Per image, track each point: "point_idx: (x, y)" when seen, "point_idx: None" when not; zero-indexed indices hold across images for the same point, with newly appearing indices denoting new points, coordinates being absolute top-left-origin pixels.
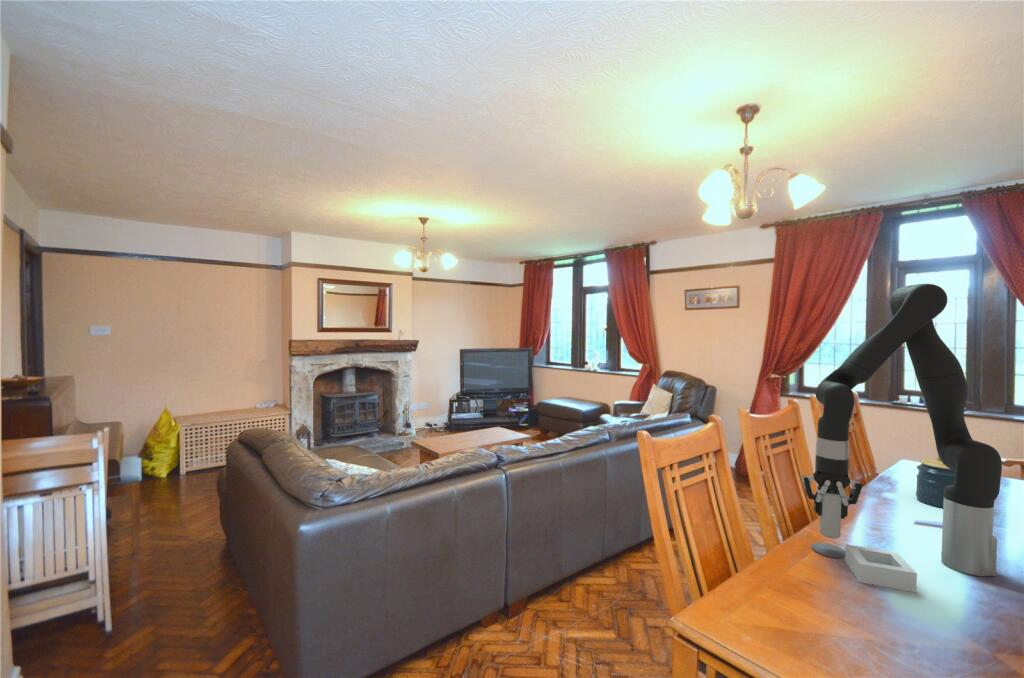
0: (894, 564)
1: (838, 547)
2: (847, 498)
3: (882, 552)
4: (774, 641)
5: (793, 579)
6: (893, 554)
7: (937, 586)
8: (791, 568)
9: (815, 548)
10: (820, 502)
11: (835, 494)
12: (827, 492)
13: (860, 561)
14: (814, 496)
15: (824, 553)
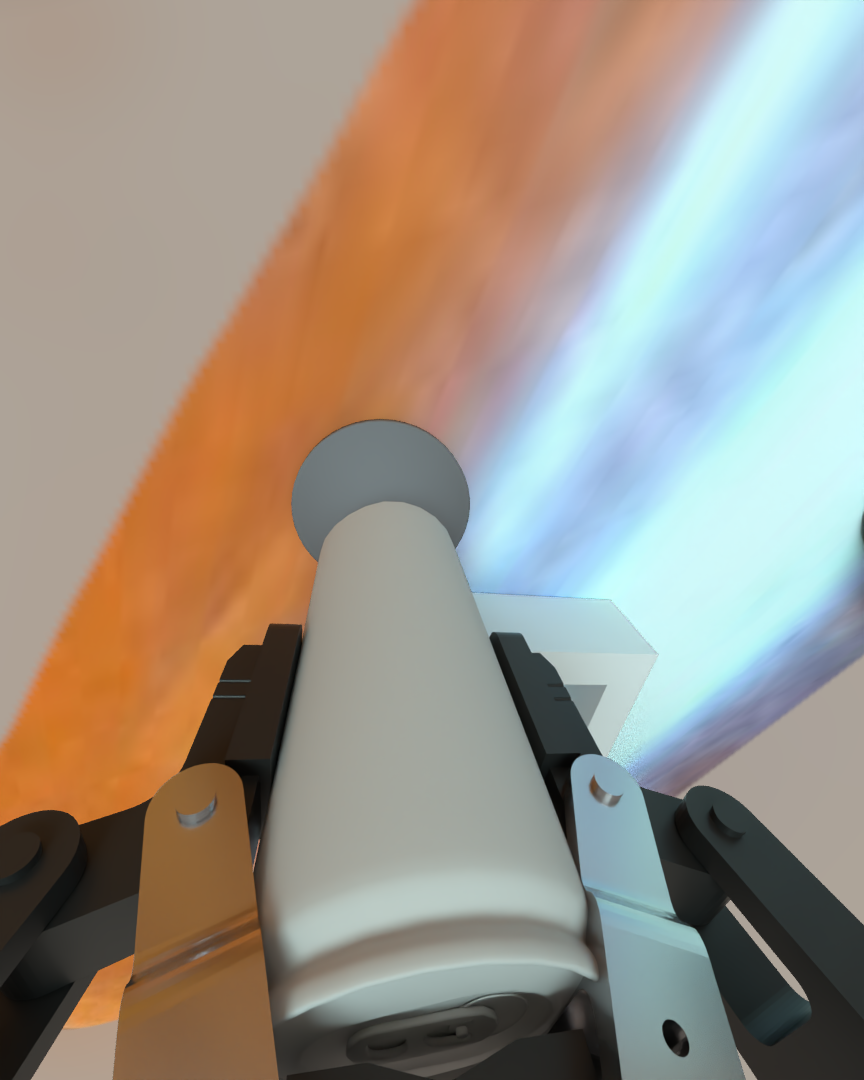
0: (579, 698)
1: (453, 467)
2: (667, 868)
3: (580, 678)
4: (93, 987)
5: (155, 787)
6: (620, 682)
7: (663, 675)
8: (153, 722)
9: (306, 522)
10: (260, 827)
11: (463, 1063)
12: (349, 1055)
13: None
14: (129, 940)
15: None
